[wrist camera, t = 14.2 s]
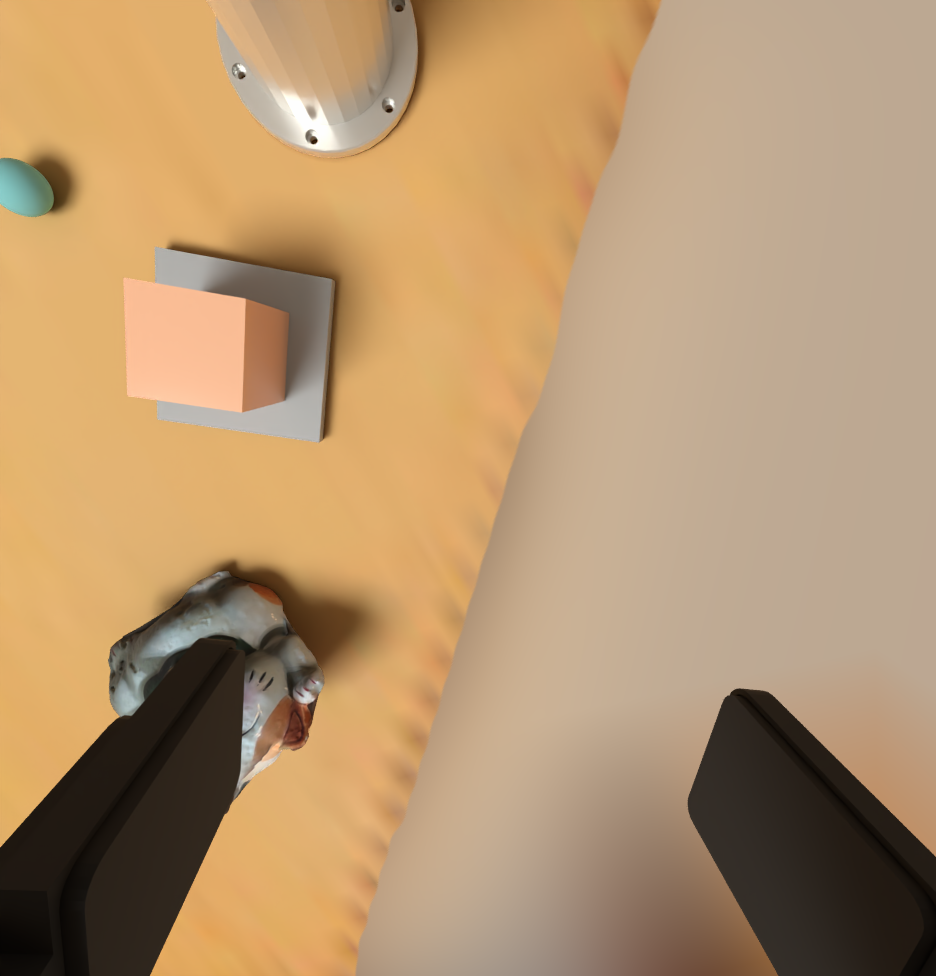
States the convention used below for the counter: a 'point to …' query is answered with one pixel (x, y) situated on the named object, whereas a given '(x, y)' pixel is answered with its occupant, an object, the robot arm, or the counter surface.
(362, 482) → the counter surface
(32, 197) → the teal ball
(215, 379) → the peach rectangular block
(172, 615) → the lucky cat figurine
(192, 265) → the slate board
